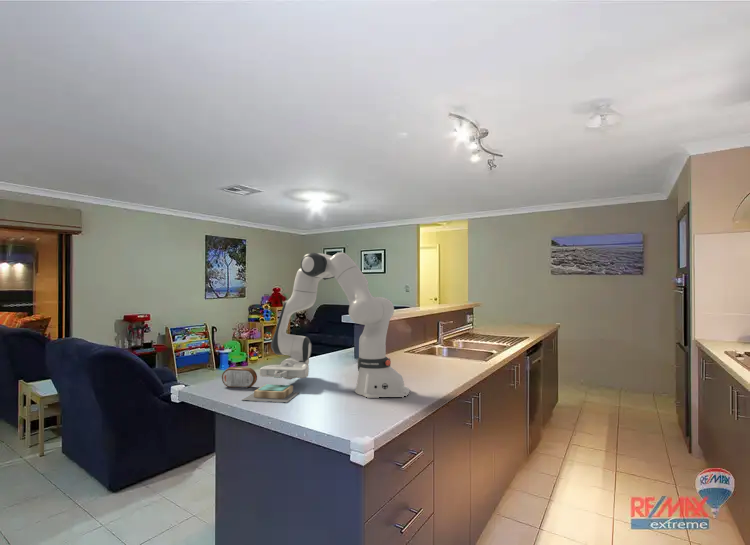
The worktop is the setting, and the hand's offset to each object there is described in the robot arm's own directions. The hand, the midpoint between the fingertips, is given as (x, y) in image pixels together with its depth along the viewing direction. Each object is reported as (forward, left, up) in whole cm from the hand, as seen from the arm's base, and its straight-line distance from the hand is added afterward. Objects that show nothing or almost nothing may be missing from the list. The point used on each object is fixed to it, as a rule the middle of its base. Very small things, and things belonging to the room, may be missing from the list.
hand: (277, 375), depth 151 cm
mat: (0, +5, -7) cm, 9 cm away
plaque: (0, -2, -6) cm, 6 cm away
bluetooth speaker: (+20, -6, -7) cm, 22 cm away
